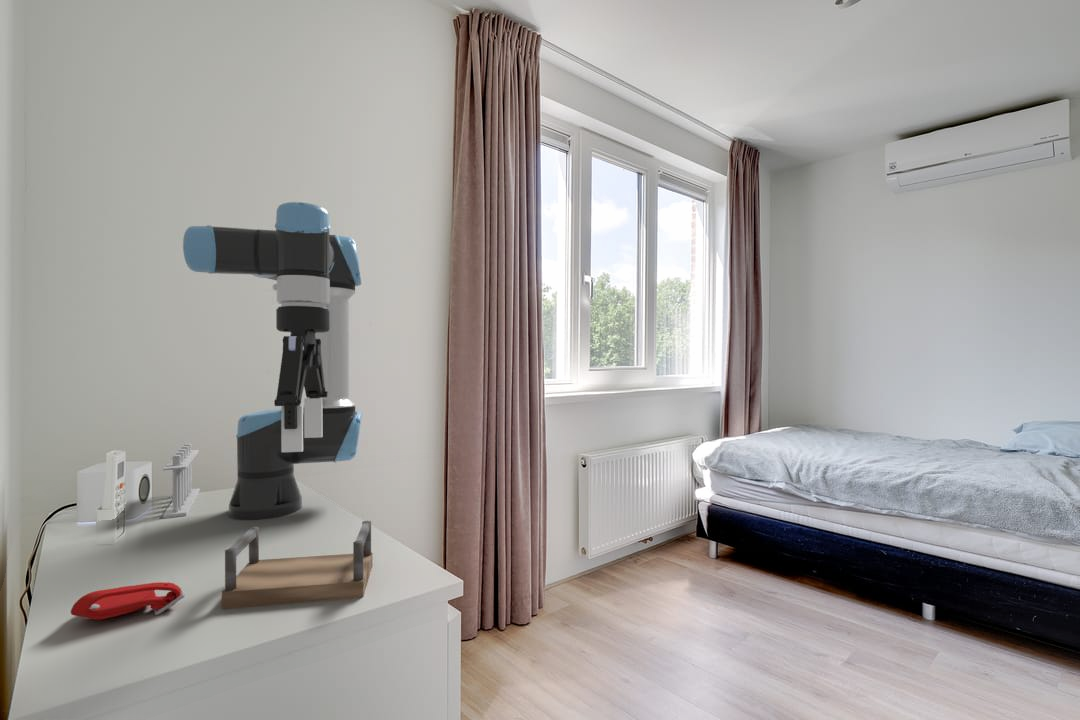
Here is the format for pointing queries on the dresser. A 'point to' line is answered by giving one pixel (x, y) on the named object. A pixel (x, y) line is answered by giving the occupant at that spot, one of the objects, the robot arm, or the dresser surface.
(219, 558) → the dresser surface
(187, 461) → the test tube rack
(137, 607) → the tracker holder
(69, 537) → the dresser surface
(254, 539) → the wooden serving tray
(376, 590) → the dresser surface
